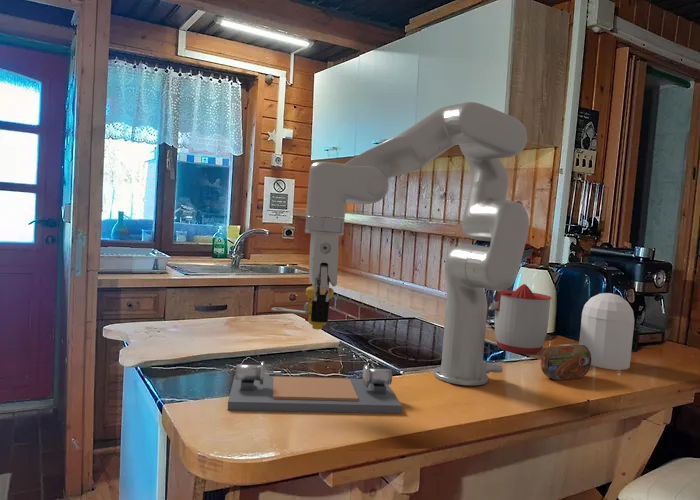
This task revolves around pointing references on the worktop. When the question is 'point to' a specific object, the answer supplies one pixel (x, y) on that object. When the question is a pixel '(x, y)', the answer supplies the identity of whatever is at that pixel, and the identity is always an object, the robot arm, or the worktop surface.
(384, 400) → the pipe rig base
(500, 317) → the citrus juicer
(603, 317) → the container
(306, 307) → the pressure relief valve
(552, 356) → the tin
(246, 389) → the pipe stubs
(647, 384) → the worktop surface
